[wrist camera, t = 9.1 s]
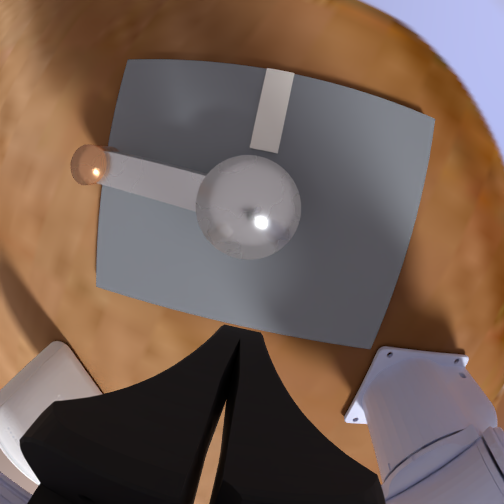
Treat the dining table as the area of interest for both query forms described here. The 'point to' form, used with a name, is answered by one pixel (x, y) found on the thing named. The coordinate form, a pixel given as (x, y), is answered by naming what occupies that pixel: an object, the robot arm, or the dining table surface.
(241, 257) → the lever with ball knob
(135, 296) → the lock plate
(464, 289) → the dining table surface
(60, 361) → the photo printer
